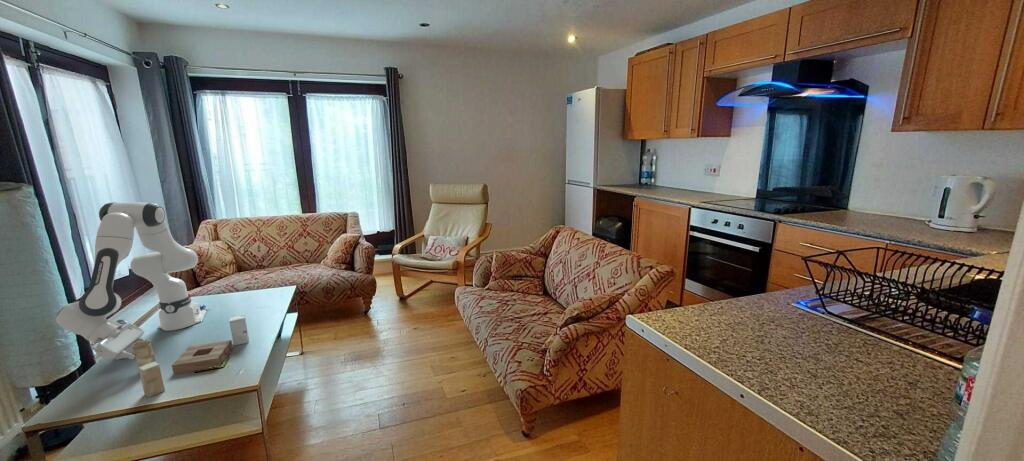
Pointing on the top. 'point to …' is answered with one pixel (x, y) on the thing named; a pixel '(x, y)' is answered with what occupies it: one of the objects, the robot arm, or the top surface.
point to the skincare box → (239, 330)
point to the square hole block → (202, 356)
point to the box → (151, 379)
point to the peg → (144, 352)
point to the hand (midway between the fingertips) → (141, 351)
